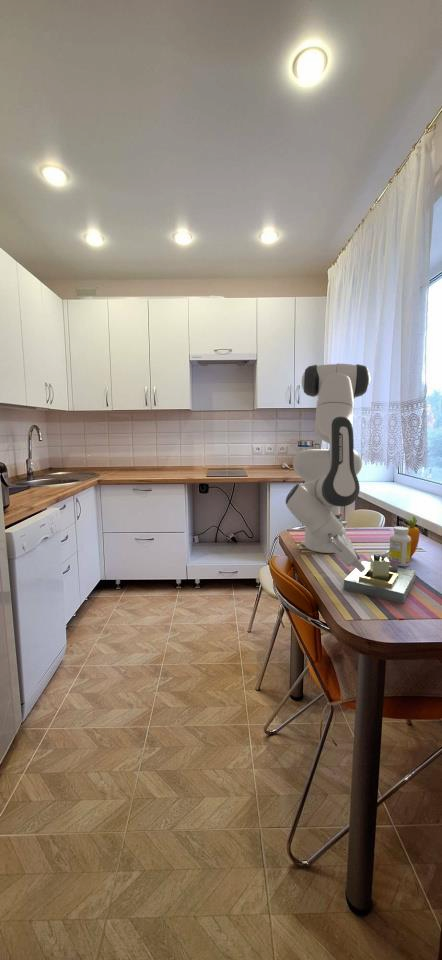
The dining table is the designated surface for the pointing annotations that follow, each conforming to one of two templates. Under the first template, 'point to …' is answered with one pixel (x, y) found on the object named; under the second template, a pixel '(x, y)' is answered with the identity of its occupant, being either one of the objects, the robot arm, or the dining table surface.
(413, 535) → the carrot
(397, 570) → the grey base plate
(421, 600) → the dining table surface
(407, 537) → the supplement bottle
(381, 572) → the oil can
